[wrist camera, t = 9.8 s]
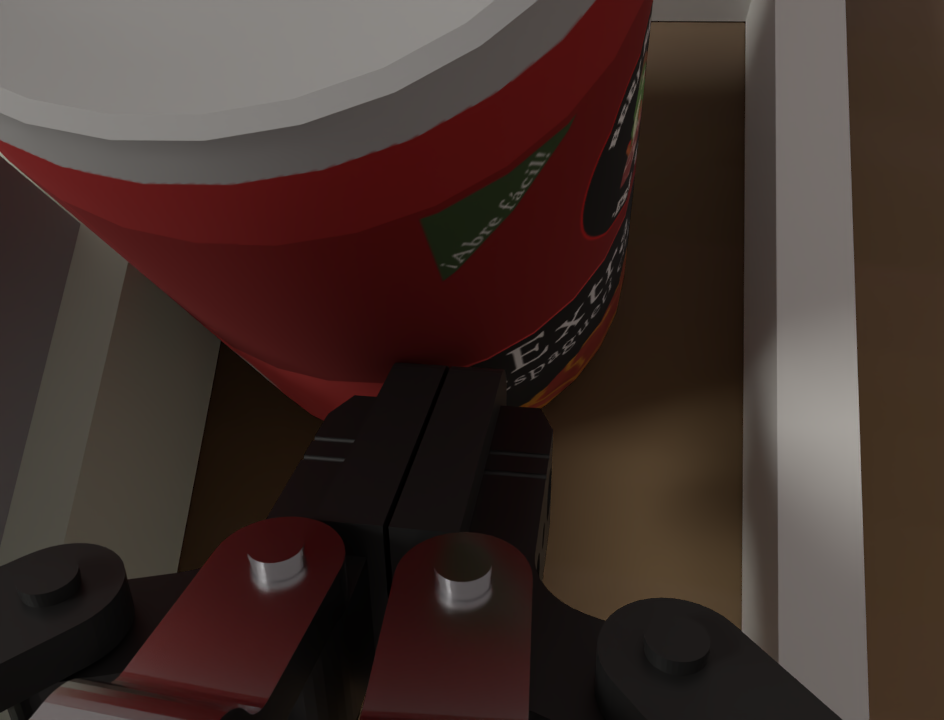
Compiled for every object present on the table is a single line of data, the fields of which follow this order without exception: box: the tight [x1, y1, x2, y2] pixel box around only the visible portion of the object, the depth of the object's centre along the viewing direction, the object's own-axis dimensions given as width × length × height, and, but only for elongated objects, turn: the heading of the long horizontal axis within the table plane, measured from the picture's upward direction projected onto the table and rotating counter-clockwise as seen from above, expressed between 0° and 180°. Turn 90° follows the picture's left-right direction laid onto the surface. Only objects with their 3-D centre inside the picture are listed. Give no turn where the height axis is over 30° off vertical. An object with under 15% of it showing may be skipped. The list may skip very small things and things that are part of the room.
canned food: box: [0, 0, 653, 421], centre depth 13 cm, size 8×8×11 cm
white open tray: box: [0, 0, 869, 720], centre depth 14 cm, size 20×19×9 cm
